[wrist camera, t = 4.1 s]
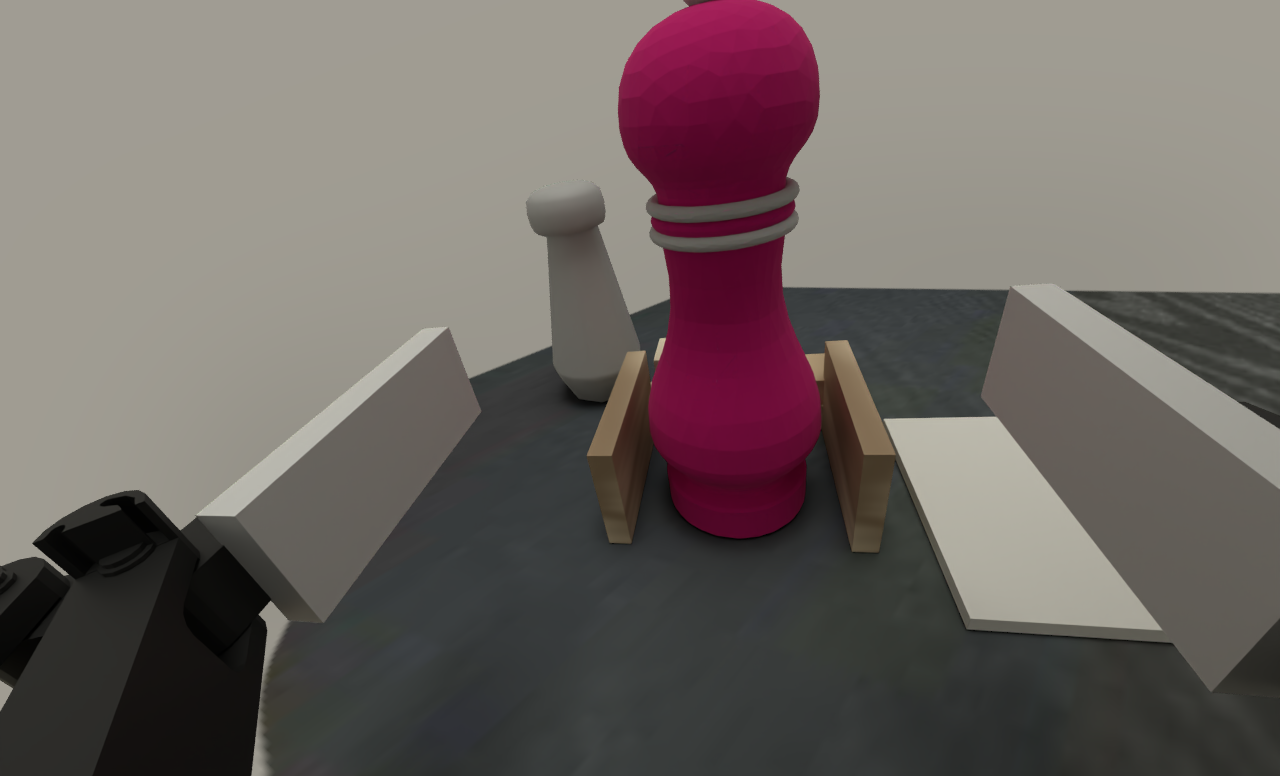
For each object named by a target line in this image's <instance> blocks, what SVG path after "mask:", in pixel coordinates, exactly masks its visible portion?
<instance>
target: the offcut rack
mask: <svg viewBox="0 0 1280 776" xmlns="http://www.w3.org/2000/svg"><path fill="white" fill-rule="evenodd" d="M665 340H666V338H660V340H659V344H658V347H657V351H656V354H655V358H654V366H655V371H656V368H657V365H658V362H659V359H660V356H661V354H662V351H663V347H664V344H665ZM805 356H806V358H807V360H808V362H809V364H810V366H811V368H812V370H813V373H814V376H815V380H816V383H817V387H818V390H819V394H820V401H821V429H822V433H823V437H824V441H825V445H826V449H827V453H828V457H829V461H830V465H831V469H832V473H833V477H834V482H835V486H836V490H837V494H838V498H839V502H840V506H841V510H842V514H843V518H844V522H845V526H846V530H847V534H848V539H849V543H850V547H851V551H852V552H873V553H879V550H880V544H881V538H882V532H883V527H884V521H885V515H886V509H887V503H888V498H889V492H890V486H891V480H892V474H893V469H894V463H895V457H896V454H895V451H894V449H893V447H892V444H891V442H890V440H889V437H888V435H887V433H886V430H885V428H884V426H883V423H882V421H881V418H880V416H879V414H878V411H877V409H876V407H875V404H874V402H873V400H872V397H871V395H870V393H869V390H868V388H867V386H866V383H865V381H864V378H863V376H862V374H861V371H860V369H859V367H858V364H857V362H856V360H855V357H854V355H853V353H852V350H851V348H850V346H849V343H848V341H847V340H844V341H825V354H805ZM651 384H652V382H650V376H649V369H648V363H647V357H646V351H633V352H627V354H626V356H625V359H624V362H623V364H622V367H621V369H620V372H619V374H618V377H617V380H616V382H615V385H614V387H613V390H612V392H611V395H610V397H609V400H608V403H607V405H606V408H605V410H604V413H603V415H602V418H601V421H600V423H599V426H598V428H597V431H596V433H595V436H594V439H593V441H592V444H591V446H590V449H589V451H588V454H587V459H588V463H589V467H590V470H591V474H592V478H593V482H594V486H595V489H596V493H597V497H598V501H599V505H600V508H601V512H602V516H603V520H604V524H605V528H606V531H607V535H608V539H609V543H626V544H632V539H633V535H634V530H635V526H636V521H637V517H638V512H639V508H640V503H641V499H642V494H643V489H644V485H645V480H646V476H647V471H648V467H649V462H650V458H651V453H652V449H653V444H654V442H653V439H652V437H651V433H650V428H649V412H648V405H649V397H650V391H651Z"/></svg>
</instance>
